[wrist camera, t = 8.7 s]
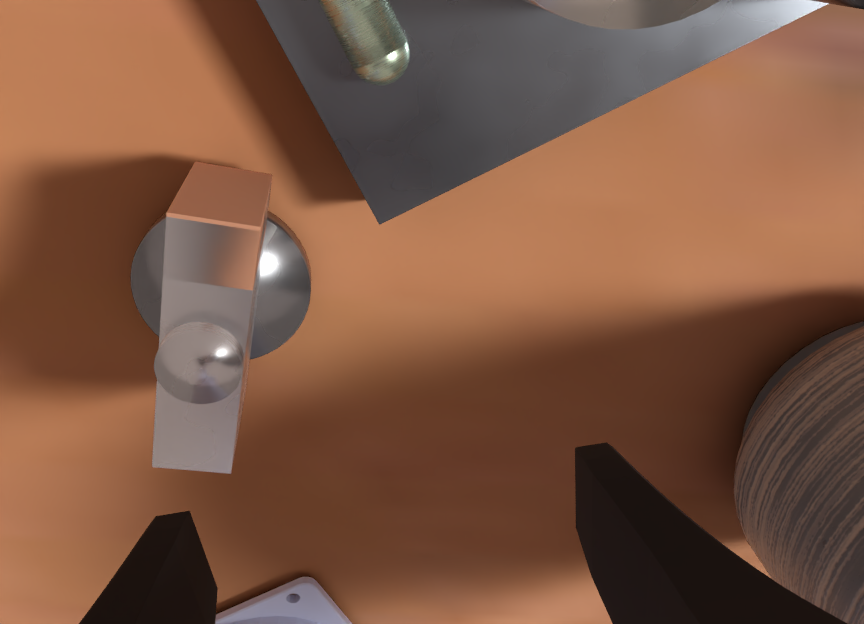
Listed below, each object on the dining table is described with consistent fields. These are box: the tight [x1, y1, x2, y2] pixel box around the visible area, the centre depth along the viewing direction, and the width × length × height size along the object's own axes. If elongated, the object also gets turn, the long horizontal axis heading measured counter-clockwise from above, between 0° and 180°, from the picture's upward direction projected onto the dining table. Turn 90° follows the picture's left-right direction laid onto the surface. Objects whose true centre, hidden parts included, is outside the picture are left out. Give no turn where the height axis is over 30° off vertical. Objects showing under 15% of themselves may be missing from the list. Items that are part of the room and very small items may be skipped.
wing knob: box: [131, 162, 311, 474], centre depth 19 cm, size 7×5×5 cm
